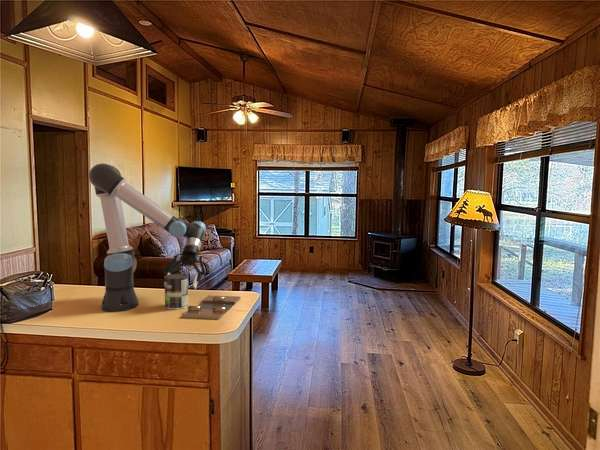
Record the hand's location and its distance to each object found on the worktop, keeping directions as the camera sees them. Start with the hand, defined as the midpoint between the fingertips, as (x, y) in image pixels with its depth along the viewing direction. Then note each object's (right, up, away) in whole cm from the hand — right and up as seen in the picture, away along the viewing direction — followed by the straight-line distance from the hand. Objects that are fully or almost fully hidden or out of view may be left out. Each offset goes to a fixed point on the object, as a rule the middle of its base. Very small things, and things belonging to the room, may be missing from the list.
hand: (179, 286), depth 180 cm
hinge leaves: (+16, -9, -2) cm, 18 cm away
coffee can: (-1, -9, 0) cm, 9 cm away
